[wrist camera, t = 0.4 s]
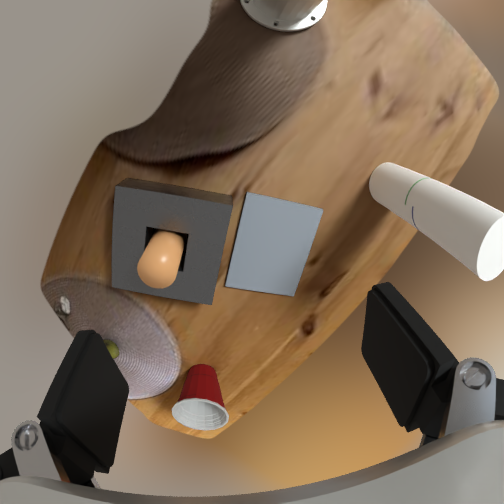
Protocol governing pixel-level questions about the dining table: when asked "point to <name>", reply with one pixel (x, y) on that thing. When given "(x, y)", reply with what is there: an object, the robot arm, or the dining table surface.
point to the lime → (112, 348)
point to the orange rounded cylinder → (161, 258)
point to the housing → (174, 219)
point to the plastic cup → (201, 400)
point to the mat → (272, 244)
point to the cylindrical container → (444, 217)
